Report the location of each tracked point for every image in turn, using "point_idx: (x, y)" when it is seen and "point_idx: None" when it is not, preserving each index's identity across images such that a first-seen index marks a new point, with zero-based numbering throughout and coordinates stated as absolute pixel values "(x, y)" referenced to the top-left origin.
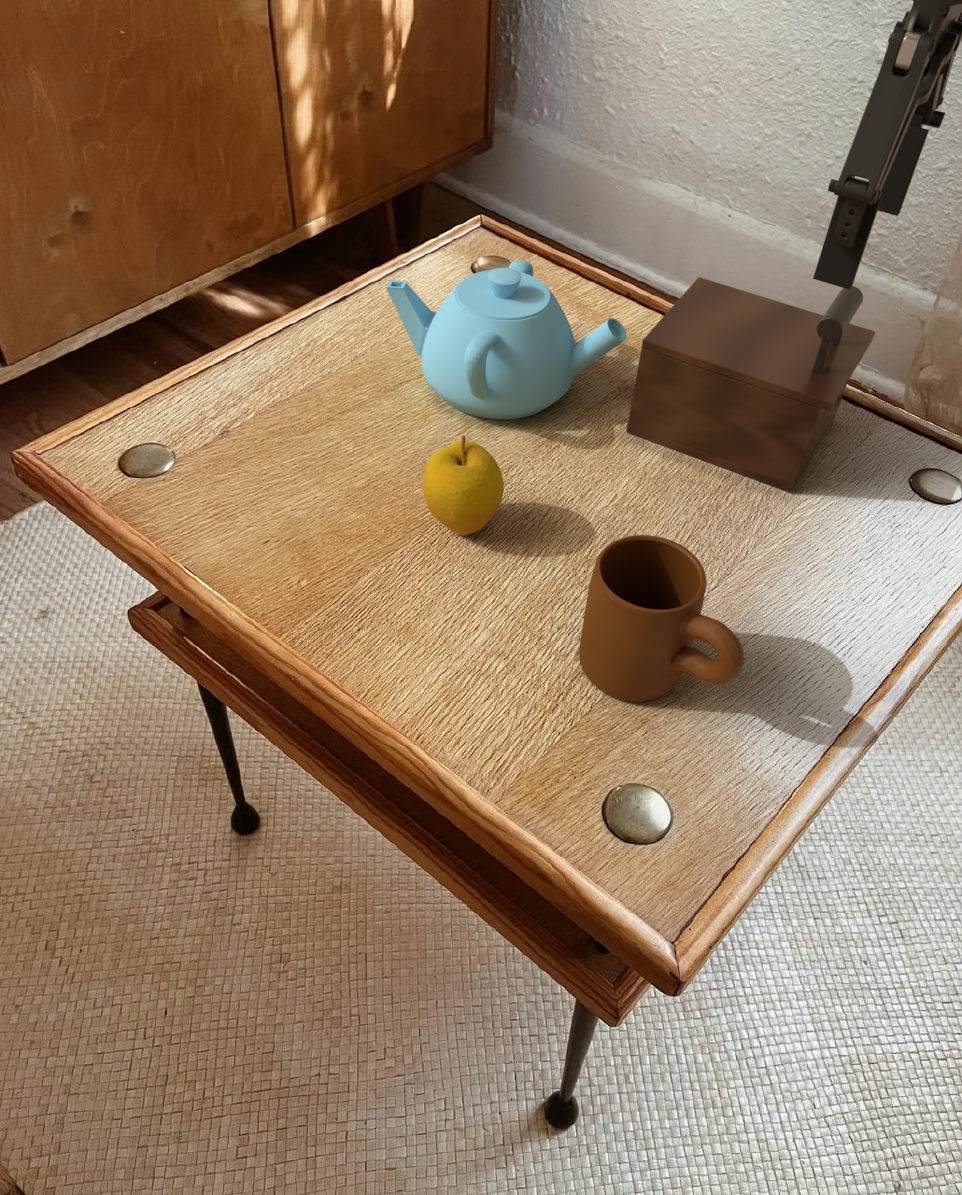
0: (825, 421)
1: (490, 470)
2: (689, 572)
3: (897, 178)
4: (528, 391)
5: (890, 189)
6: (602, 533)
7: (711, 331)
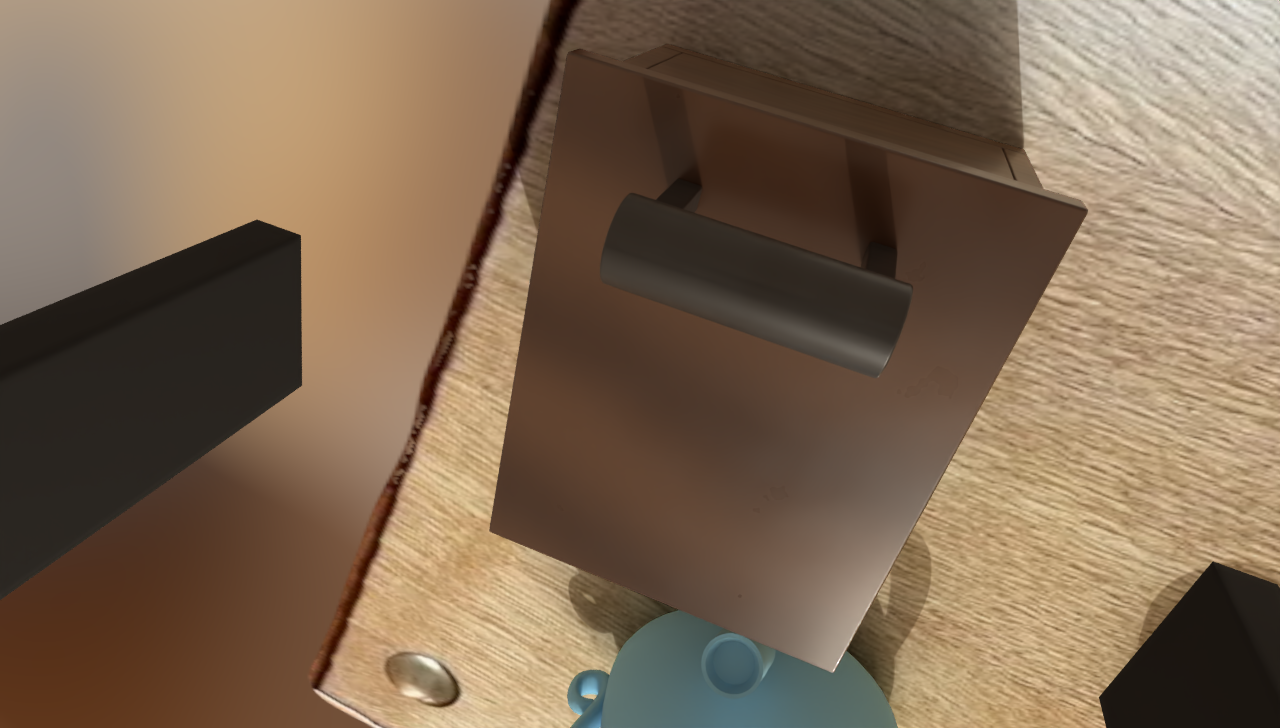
0: (829, 114)
1: None
2: None
3: (151, 377)
4: (873, 721)
5: (209, 357)
6: (1235, 549)
7: (742, 527)
